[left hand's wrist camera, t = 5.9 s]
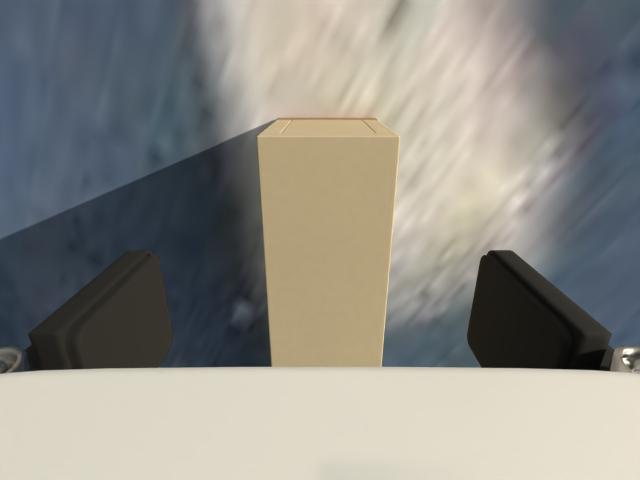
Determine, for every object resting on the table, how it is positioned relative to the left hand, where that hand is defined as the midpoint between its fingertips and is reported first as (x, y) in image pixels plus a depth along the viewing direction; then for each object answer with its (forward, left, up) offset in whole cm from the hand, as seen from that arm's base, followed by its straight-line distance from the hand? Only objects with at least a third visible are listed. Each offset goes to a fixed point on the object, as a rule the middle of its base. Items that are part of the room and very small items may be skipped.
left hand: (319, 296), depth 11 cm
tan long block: (-1, +7, -14) cm, 15 cm away
